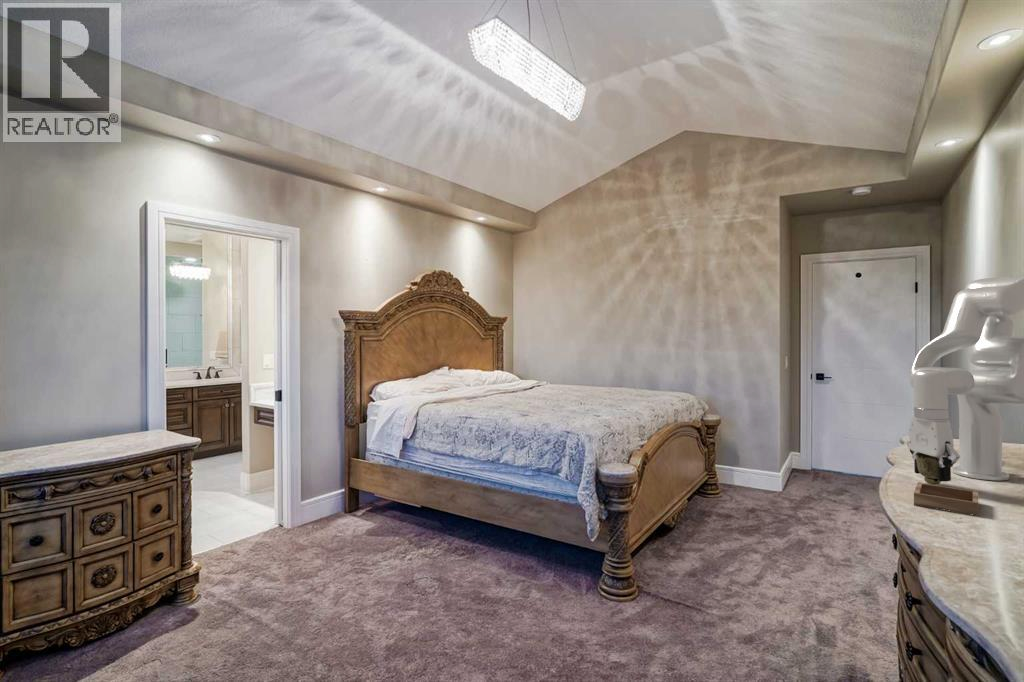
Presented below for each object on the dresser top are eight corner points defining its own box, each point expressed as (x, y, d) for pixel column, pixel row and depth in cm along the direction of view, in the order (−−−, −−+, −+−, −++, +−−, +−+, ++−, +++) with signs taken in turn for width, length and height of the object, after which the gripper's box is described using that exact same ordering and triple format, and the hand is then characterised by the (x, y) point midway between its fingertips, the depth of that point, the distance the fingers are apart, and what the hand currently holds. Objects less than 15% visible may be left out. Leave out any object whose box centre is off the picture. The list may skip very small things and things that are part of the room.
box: (917, 493, 138) (917, 482, 138) (977, 503, 130) (977, 491, 130) (913, 505, 129) (913, 493, 129) (978, 516, 121) (978, 503, 121)
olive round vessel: (921, 486, 142) (921, 457, 142) (911, 478, 149) (910, 450, 149) (955, 487, 140) (954, 458, 139) (942, 479, 147) (942, 452, 146)
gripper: (893, 409, 152) (894, 469, 153) (946, 420, 135) (947, 487, 136) (917, 408, 153) (918, 467, 153) (973, 418, 135) (974, 485, 136)
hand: (932, 476), depth 144 cm, fingers closed on olive round vessel, 7 cm apart
